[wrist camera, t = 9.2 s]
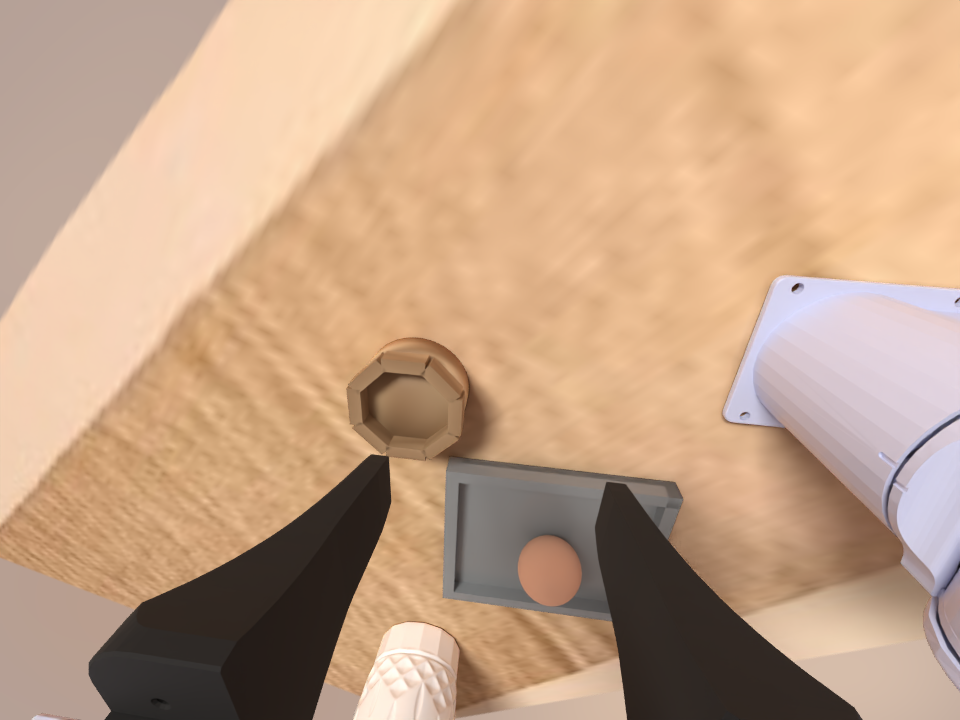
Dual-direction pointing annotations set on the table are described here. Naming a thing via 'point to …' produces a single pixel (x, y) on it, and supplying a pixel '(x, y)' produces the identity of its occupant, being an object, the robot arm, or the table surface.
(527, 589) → the ball
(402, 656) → the white cup
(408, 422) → the egg cup
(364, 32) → the table surface
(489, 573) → the tray
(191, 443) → the table surface
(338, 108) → the table surface
